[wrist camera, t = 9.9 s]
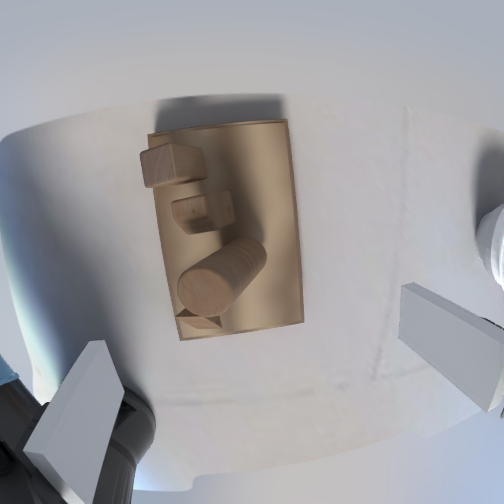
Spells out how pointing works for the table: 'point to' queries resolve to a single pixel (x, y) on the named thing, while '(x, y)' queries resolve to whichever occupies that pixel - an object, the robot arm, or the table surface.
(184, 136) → the plinth
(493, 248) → the bowl
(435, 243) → the table surface
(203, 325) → the wooden block set
